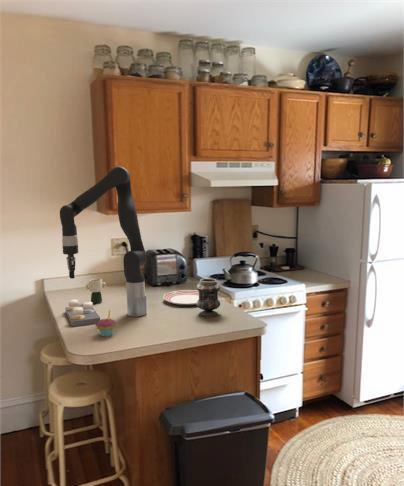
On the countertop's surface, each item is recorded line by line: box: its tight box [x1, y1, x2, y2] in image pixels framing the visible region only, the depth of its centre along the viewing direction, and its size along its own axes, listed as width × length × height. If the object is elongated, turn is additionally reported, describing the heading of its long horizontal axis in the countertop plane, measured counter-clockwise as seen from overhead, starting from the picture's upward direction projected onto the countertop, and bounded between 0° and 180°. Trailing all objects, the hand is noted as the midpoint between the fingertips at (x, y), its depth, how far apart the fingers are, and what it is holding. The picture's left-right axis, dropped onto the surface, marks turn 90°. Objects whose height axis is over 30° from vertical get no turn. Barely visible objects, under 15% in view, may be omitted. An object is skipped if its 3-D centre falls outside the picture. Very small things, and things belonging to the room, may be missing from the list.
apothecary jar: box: [195, 277, 221, 318], centre depth 214 cm, size 12×12×18 cm
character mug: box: [85, 278, 107, 304], centre depth 239 cm, size 11×7×13 cm, turn 111°
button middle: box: [82, 301, 94, 309], centre depth 213 cm, size 5×5×2 cm
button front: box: [73, 307, 83, 315], centre depth 204 cm, size 5×5×2 cm
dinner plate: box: [162, 289, 199, 306], centre depth 241 cm, size 27×27×3 cm
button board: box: [65, 304, 101, 328], centre depth 213 cm, size 26×13×3 cm, turn 25°
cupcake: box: [95, 309, 117, 337], centre depth 186 cm, size 9×8×12 cm
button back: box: [67, 298, 79, 307], centre depth 218 cm, size 5×5×2 cm
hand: (71, 277), depth 216 cm, fingers closed
